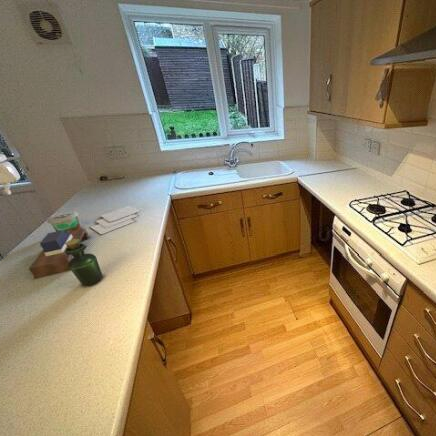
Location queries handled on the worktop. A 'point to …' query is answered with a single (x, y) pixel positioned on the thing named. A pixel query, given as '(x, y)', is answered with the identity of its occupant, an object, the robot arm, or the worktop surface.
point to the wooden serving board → (55, 259)
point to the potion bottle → (83, 264)
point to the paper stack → (115, 219)
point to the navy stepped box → (55, 242)
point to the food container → (65, 222)
